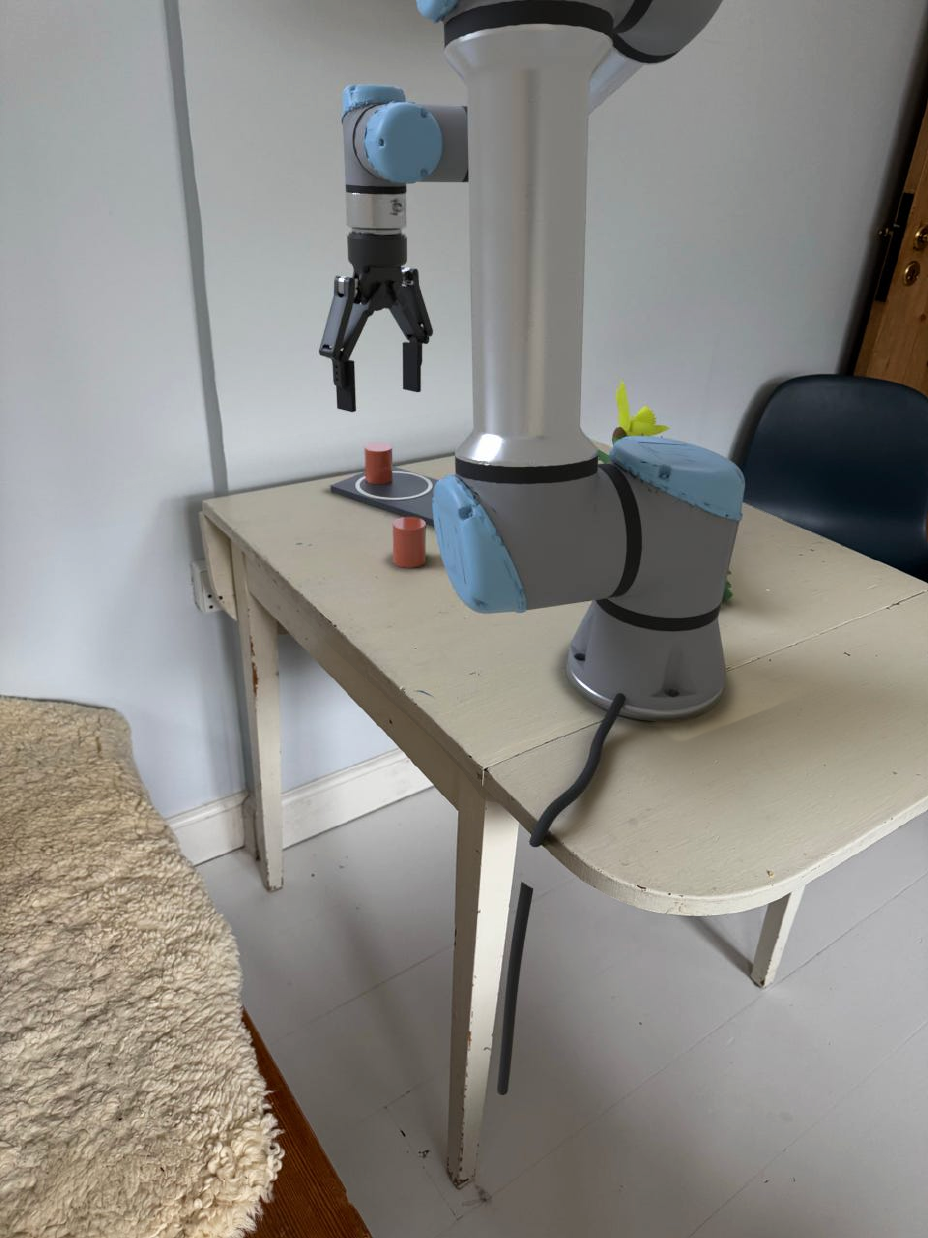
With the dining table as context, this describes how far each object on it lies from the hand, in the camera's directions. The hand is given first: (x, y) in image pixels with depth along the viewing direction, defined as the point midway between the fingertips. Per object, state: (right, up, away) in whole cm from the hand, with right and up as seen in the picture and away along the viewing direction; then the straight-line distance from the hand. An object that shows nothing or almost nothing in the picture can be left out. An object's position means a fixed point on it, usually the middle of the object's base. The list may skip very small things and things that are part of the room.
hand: (380, 399), depth 116 cm
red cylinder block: (+5, -23, -12) cm, 27 cm away
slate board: (+5, -13, +4) cm, 15 cm away
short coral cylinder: (-1, -10, +8) cm, 12 cm away
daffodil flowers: (+35, -22, -8) cm, 42 cm away
